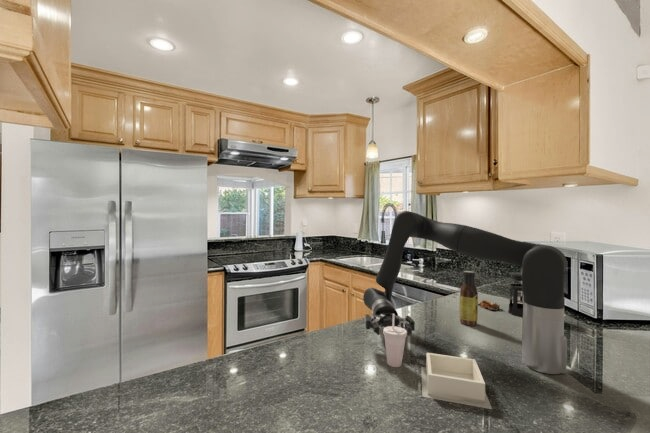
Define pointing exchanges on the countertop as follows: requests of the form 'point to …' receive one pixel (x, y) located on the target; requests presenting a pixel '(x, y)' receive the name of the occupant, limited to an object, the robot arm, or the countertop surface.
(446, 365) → the cream open box
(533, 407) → the countertop surface
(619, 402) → the countertop surface
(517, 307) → the french press
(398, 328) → the smoothie
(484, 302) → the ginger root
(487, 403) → the mat
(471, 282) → the sauce bottle
